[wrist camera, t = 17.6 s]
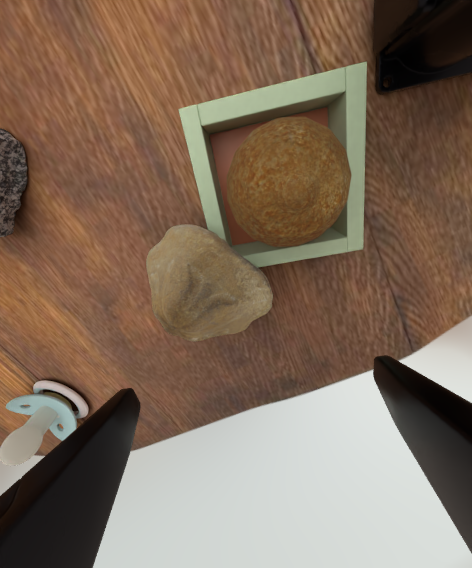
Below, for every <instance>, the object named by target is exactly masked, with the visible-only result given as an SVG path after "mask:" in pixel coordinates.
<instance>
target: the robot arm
mask: <svg viewBox="0 0 472 568" xmlns="http://www.w3.org/2000/svg"><path fill="white" fill-rule="evenodd" d="M373 50H374V52H375V53H376V83H375V87H376V91H377V92H378V93H379V94H386V93H391V92H395V91H399V90H403V89H407V88H412V87H416V86H420V85H424V84H429V83H433V82H437V81H441V80H445V79H450V78H454V77H458V76H462V75H466V74H471V73H472V0H374V35H373ZM384 79H387V80H388V86H387V87H384V86H383V81H384ZM373 375H374V380H375V382H376V384H377V386H378V389H379V390H380V393H381V395H382V397H383V399H384V401H385V404H386V406H387V408H388V410H389V412H390V414H391V416H392V418H393V420H394V422H395V425H396V426H397V428H398V430H399V432H400V433H401V435H402V437H403V438H404V440H405V442H406V443H407V445H408V447H409V449H410V450H411V452H412V453H413V455H414V457H415V459H416V460H417V462H418V464H419V465H420V467H421V469H422V470H423V472H424V474H425V476H426V477H427V479H428V481H429V482H430V484H431V486H432V487H433V489H434V491H435V492H436V494H437V496H438V497H439V499H440V500H441V502H442V504H443V506H444V507H445V509H446V511H447V513H448V514H449V516H450V518H451V519H452V521H453V523H454V524H455V526H456V527H457V529H458V531H459V533H460V535H461V536H462V538H463V540H464V541H465V543H466V545H467V546H468V548H469V550H470V551H471V553H472V403H470V402H469V401H467V400H465V399H463V398H462V397H460V396H458V395H456V394H455V393H453V392H451V391H449V390H448V389H446V388H444V387H442V386H441V385H439V384H437V383H435V382H434V381H432V380H430V379H428V378H427V377H425V376H423V375H421V374H419V373H418V372H416V371H414V370H413V369H411V368H409V367H407V366H406V365H404V364H402V363H400V362H399V361H397V360H395V359H393V358H392V357H390V356H387V355H384V356H377V357H375V359H374V371H373ZM139 412H140V402H139V400H138V398H137V396H136V394H135V392H134V390H133V389H132V388H127V389H121V390H120V391H119V392H117V393H116V394H115V395H114V396H113V397H112V398H111V399H110V400H108V401H107V402H106V403H105V404H104V405H103V406H102V407H100V408H99V409H98V410H97V411H96V412H95V413H94V414H93V415H91V416H90V417H89V418H88V419H87V420H86V421H85V422H84V423H82V424H81V425H80V426H79V427H78V428H77V429H76V430H74V431H73V432H72V433H71V434H70V435H69V436H68V437H67V438H65V439H64V440H63V441H62V442H61V443H60V444H59V445H57V446H56V447H55V448H54V449H53V450H52V451H51V452H50V453H48V454H47V455H46V456H45V457H44V458H43V459H42V460H41V461H39V462H38V463H37V464H36V465H35V466H34V467H33V468H31V469H30V470H29V471H28V472H27V473H26V474H25V475H24V476H22V478H21V479H19V480H18V481H17V482H16V483H14V484H13V485H12V486H11V487H10V488H9V489H8V490H7V491H6V492H4V493H3V494H2V495H1V496H0V568H93V565H94V562H95V558H96V556H97V553H98V549H99V546H100V543H101V540H102V537H103V534H104V531H105V528H106V525H107V521H108V519H109V516H110V513H111V510H112V506H113V504H114V500H115V497H116V494H117V491H118V488H119V485H120V482H121V479H122V476H123V473H124V470H125V467H126V464H127V460H128V457H129V454H130V451H131V447H132V443H133V438H134V434H135V430H136V425H137V421H138V417H139Z"/></svg>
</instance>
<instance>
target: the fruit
mask: <svg viewBox="0 0 472 568" xmlns="http://www.w3.org/2000/svg"><path fill="white" fill-rule="evenodd" d="M351 176H352V174H351V170H350V166H349V161H348V157H347V152H346V149H345V148H344V147H343V145H342V144H341V143H340V141H339V140H338V139H337V138H336V136H335V135H334V134H333V132H332V131H331V130H330V129H329V128H328V127H325V126H323V125H321V124H319V123H317V122H315V121H313V120H311V119H309V118H306V117H278V118H276V119H274V120H272V121H270V122H268V123H266V124H264V125H262V126H260V127H259V128H257V129H255V130H253V131H252V132H251V133H250V134H249V136H248V137H247V138H246V139H245V140H244V142H243V143H242V144H241V145H240V146H239V148H238V149H237V150H236V151H235V153H234V156H233V159H232V162H231V165H230V168H229V171H228V174H227V201H228V204H229V206H230V208H231V210H232V213H233V215H234V217H235V220H236V222H237V224H238V225H239V226H240V227H241V228H242V229H243V230H244V231H245V232H246V233H247V234H248V235H249V236H251V237H252V238H253V239H255V240H257V241H260V242H262V243H265V244H267V245H270V246H273V247H292V246H299V245H302V244H304V243H307V242H309V241H312V240H314V239H317V238H318V237H319V236H321V235H322V234H323V233H324V232H325V231H326V230H327V229H328V228H330V227H331V226H332V225H333V224H334V223H335V222H336V220H337V219H338V217H339V215H340V213H341V211H342V210H343V208H344V206H345V204H346V202H347V200H348V195H349V188H350V182H351Z"/></svg>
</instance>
